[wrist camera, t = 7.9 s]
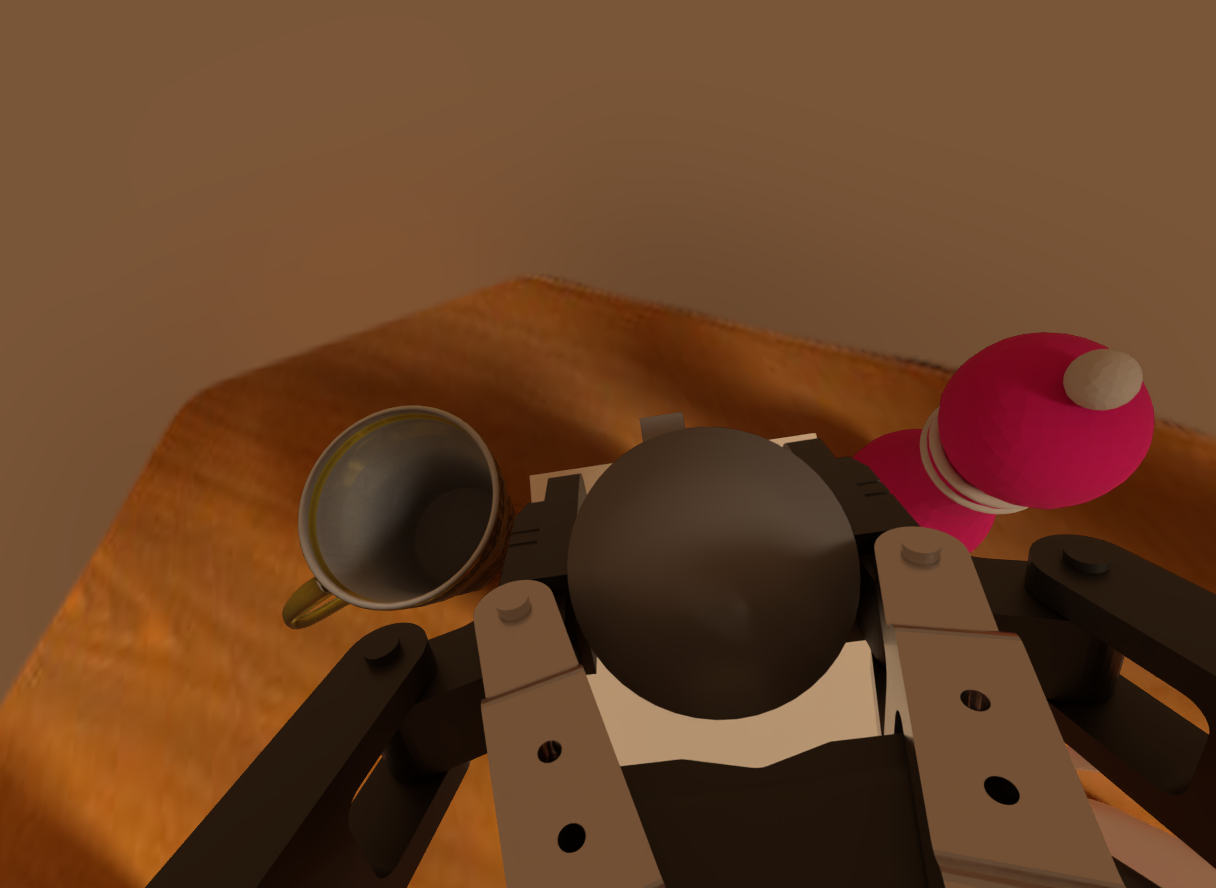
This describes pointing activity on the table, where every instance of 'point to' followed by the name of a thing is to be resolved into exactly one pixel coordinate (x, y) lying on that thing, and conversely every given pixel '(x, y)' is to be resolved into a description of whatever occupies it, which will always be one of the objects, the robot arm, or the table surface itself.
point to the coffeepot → (1148, 845)
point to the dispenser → (755, 742)
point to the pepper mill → (1019, 435)
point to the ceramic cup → (400, 515)
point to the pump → (713, 573)
